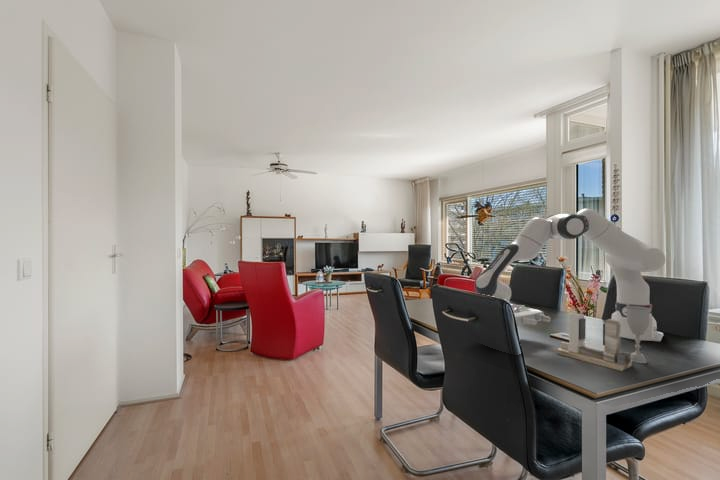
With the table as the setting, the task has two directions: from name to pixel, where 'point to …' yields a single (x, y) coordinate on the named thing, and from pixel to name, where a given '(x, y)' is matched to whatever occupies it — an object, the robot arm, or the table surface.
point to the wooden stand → (612, 349)
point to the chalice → (638, 328)
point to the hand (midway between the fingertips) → (542, 321)
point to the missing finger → (576, 332)
